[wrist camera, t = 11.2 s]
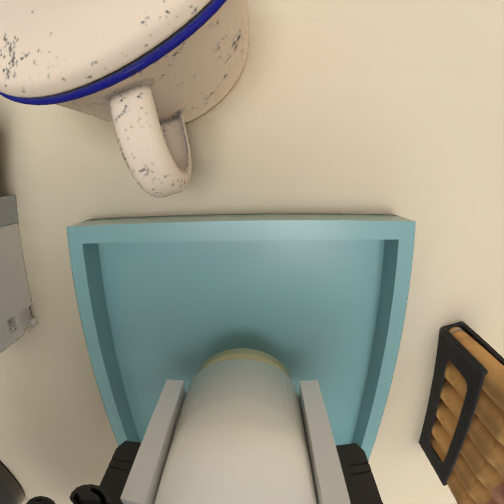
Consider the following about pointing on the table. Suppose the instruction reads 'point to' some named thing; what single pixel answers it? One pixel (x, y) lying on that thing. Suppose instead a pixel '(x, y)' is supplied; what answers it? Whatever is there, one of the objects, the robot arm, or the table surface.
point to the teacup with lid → (128, 70)
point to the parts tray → (244, 305)
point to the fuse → (239, 436)
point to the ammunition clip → (467, 417)
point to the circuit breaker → (12, 277)
